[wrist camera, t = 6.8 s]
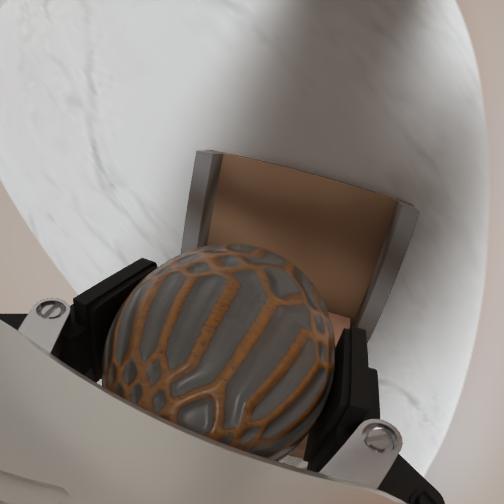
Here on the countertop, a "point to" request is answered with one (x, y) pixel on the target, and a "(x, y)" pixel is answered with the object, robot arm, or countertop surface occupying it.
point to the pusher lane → (304, 229)
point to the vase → (226, 348)
